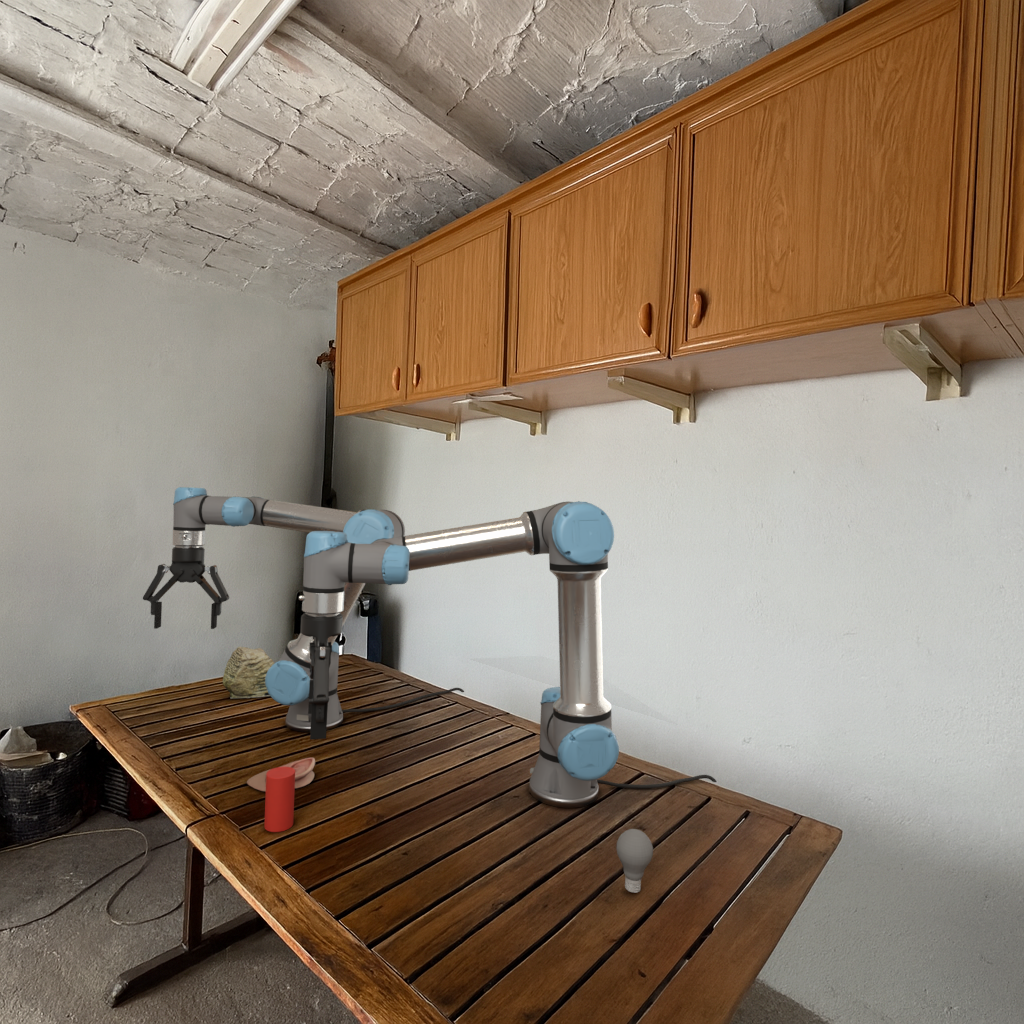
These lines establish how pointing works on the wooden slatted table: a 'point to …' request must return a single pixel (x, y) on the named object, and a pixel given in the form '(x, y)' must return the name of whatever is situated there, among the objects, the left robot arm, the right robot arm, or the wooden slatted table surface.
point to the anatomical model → (301, 774)
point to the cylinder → (279, 799)
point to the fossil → (247, 673)
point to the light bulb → (634, 857)
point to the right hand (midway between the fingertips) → (316, 725)
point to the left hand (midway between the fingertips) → (185, 627)
